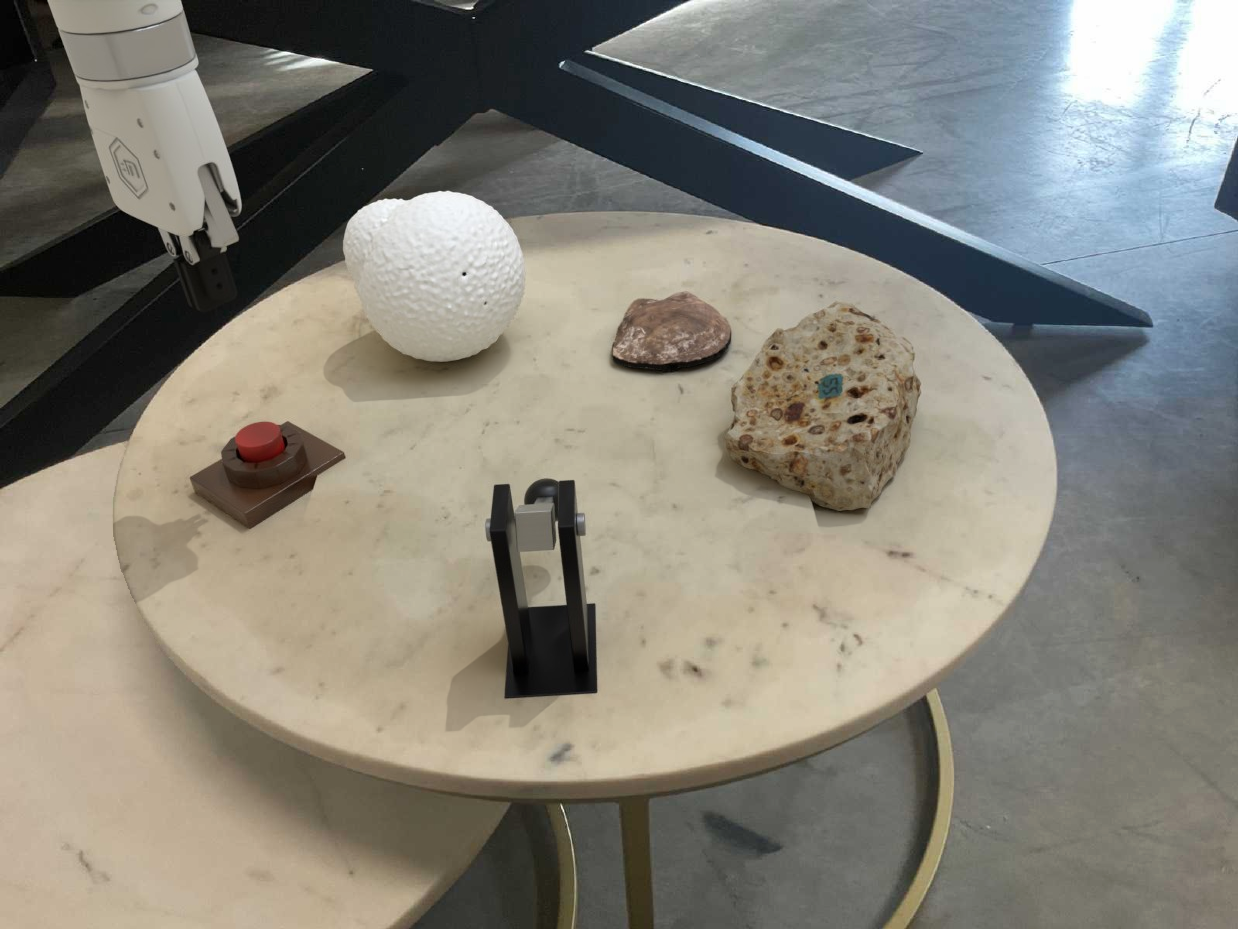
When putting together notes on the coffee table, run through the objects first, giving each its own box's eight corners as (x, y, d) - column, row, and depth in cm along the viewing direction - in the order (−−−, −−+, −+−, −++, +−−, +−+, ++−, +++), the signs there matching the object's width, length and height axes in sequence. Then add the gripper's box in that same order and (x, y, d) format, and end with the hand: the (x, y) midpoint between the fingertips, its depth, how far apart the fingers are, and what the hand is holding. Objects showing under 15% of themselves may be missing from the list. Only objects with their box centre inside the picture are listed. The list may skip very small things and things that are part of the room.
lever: (527, 520, 74) (524, 476, 74) (571, 518, 74) (568, 474, 74) (509, 559, 62) (505, 506, 61) (562, 556, 61) (559, 503, 61)
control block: (250, 530, 82) (238, 496, 80) (194, 492, 87) (181, 459, 85) (348, 467, 88) (339, 434, 86) (292, 435, 93) (282, 403, 90)
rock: (899, 535, 79) (879, 436, 74) (725, 526, 86) (694, 434, 80) (943, 373, 93) (929, 278, 87) (790, 376, 100) (767, 289, 94)
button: (257, 469, 84) (251, 452, 83) (232, 454, 86) (226, 436, 84) (293, 447, 86) (288, 430, 85) (268, 433, 88) (262, 416, 87)
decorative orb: (511, 407, 94) (488, 247, 85) (327, 401, 97) (284, 245, 87) (549, 300, 110) (534, 155, 100) (390, 298, 112) (360, 156, 103)
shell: (742, 313, 106) (743, 282, 104) (719, 380, 96) (720, 347, 94) (633, 304, 108) (632, 273, 106) (601, 368, 99) (599, 335, 97)
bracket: (512, 619, 73) (487, 466, 65) (596, 614, 73) (582, 460, 65) (506, 709, 67) (478, 552, 58) (598, 704, 67) (583, 546, 58)
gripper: (19, 46, 68) (116, 295, 79) (139, 83, 60) (228, 354, 71) (124, 19, 72) (202, 258, 83) (249, 50, 64) (316, 309, 75)
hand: (214, 301), depth 77 cm, fingers closed
